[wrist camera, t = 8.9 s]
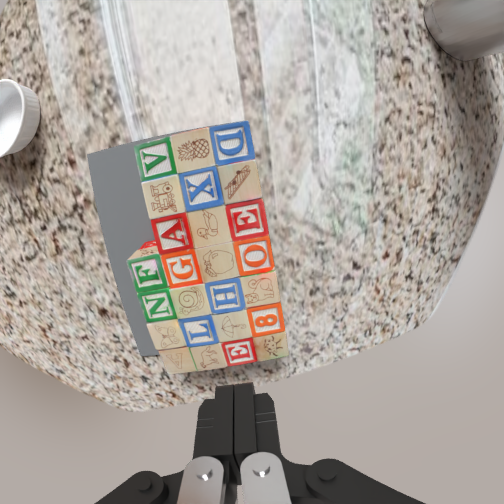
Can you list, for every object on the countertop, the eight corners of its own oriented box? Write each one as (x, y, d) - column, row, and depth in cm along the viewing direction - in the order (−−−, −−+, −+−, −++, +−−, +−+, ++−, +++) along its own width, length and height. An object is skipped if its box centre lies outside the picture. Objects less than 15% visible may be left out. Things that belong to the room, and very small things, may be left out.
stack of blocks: (247, 125, 28) (124, 153, 28) (250, 118, 22) (98, 155, 22) (281, 325, 34) (175, 341, 35) (289, 358, 29) (165, 376, 29)
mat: (242, 121, 28) (242, 121, 28) (272, 340, 36) (272, 342, 35) (88, 154, 28) (87, 154, 28) (141, 354, 35) (141, 356, 35)
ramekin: (55, 89, 25) (34, 84, 21) (32, 165, 28) (10, 168, 24) (7, 79, 24) (-14, 75, 20) (-13, 147, 26) (-35, 150, 22)
